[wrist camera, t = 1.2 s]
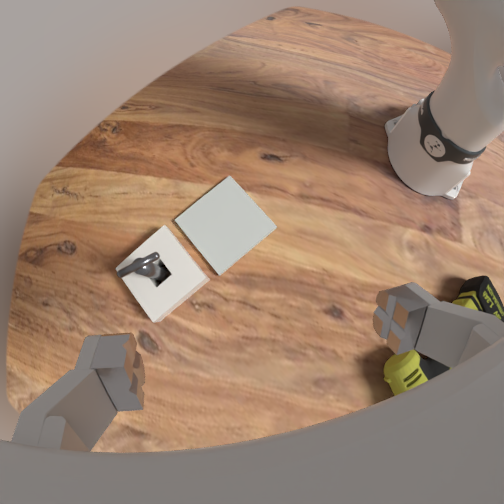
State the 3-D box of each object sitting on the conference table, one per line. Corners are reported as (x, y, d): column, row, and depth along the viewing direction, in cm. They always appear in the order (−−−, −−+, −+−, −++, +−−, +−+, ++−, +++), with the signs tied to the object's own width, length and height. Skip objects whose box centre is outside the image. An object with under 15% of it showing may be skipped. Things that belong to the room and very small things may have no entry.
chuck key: (179, 261, 45) (155, 245, 34) (184, 273, 44) (161, 261, 34) (145, 277, 44) (113, 267, 34) (150, 289, 44) (118, 282, 33)
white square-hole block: (170, 230, 46) (164, 224, 43) (209, 279, 44) (206, 277, 41) (123, 270, 45) (115, 268, 42) (159, 321, 43) (153, 322, 40)
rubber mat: (230, 177, 47) (229, 175, 46) (276, 228, 45) (276, 226, 44) (175, 221, 46) (174, 219, 45) (219, 275, 44) (219, 275, 43)
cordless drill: (511, 373, 38) (425, 462, 36) (468, 275, 43) (367, 366, 42) (534, 376, 31) (442, 477, 30) (491, 268, 36) (383, 374, 35)
